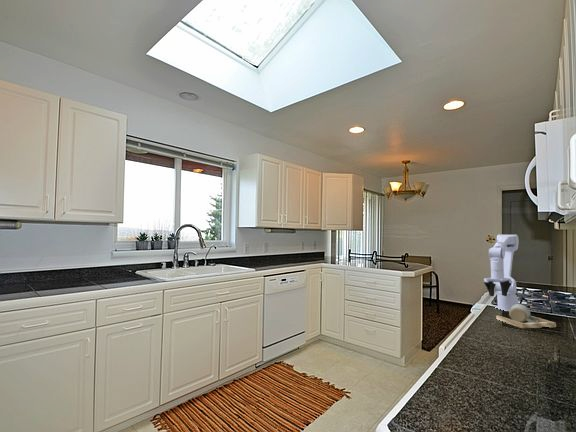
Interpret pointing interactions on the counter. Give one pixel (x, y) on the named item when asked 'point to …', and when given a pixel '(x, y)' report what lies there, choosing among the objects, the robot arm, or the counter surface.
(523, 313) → the ceramic mug
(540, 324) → the bent wooden beam
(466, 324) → the counter surface
